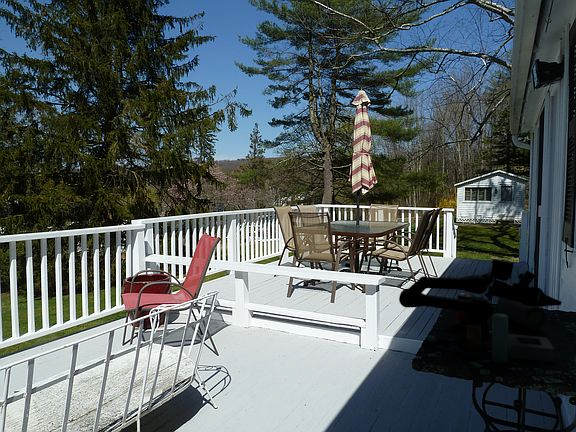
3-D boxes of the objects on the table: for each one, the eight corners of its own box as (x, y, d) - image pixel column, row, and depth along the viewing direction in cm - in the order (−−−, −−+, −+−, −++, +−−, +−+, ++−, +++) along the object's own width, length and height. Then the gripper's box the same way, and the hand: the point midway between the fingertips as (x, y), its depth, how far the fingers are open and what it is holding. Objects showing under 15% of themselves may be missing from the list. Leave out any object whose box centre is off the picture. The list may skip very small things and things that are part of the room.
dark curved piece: (548, 332, 165) (549, 305, 164) (523, 332, 165) (523, 305, 165) (518, 315, 188) (518, 291, 187) (495, 315, 188) (496, 292, 187)
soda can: (460, 321, 180) (460, 291, 179) (479, 324, 175) (479, 294, 174) (454, 325, 174) (454, 295, 173) (473, 329, 169) (473, 297, 169)
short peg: (466, 351, 146) (467, 327, 145) (466, 347, 150) (466, 323, 149) (481, 353, 144) (481, 328, 144) (480, 348, 148) (480, 325, 148)
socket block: (510, 357, 140) (510, 345, 140) (505, 345, 151) (506, 333, 151) (554, 362, 136) (554, 349, 136) (546, 349, 147) (546, 337, 147)
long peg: (492, 362, 137) (493, 316, 136) (491, 357, 141) (491, 313, 140) (508, 363, 135) (509, 318, 134) (506, 358, 139) (507, 314, 139)
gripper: (515, 266, 148) (569, 278, 142) (510, 270, 165) (557, 281, 159) (508, 299, 147) (562, 313, 141) (503, 299, 165) (551, 311, 158)
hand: (558, 303), depth 150 cm, fingers open, 9 cm apart
